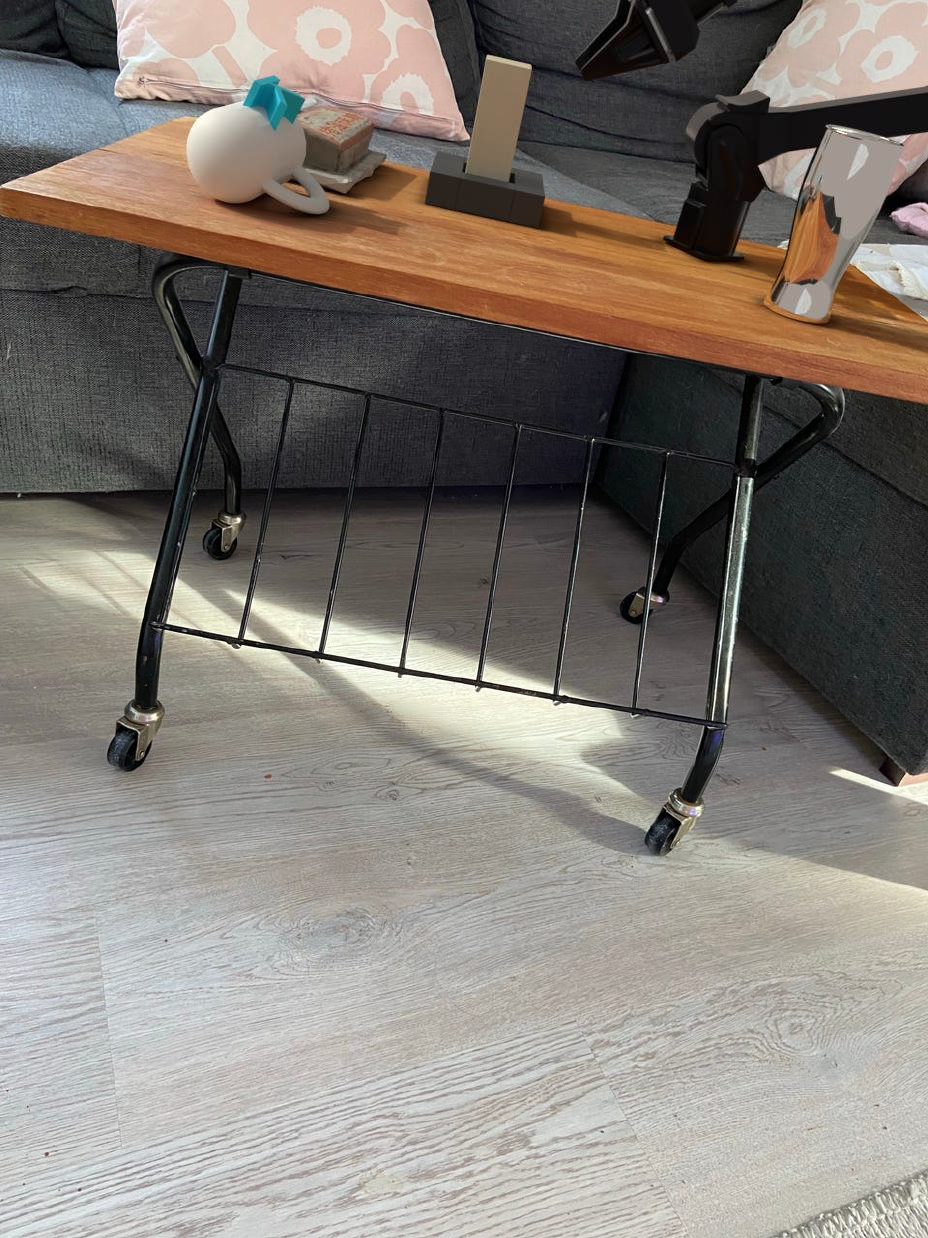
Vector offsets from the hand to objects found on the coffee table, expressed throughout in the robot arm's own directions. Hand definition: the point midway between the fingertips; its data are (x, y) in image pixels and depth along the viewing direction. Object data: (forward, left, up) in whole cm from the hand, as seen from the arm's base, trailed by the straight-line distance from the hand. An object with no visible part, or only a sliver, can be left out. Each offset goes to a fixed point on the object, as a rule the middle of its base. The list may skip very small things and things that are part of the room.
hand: (579, 70), depth 94 cm
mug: (+31, -1, -14) cm, 34 cm away
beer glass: (-9, +27, -14) cm, 32 cm away
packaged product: (+19, -14, -14) cm, 27 cm away
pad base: (+5, -4, -14) cm, 15 cm away
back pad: (+5, -4, -14) cm, 15 cm away
